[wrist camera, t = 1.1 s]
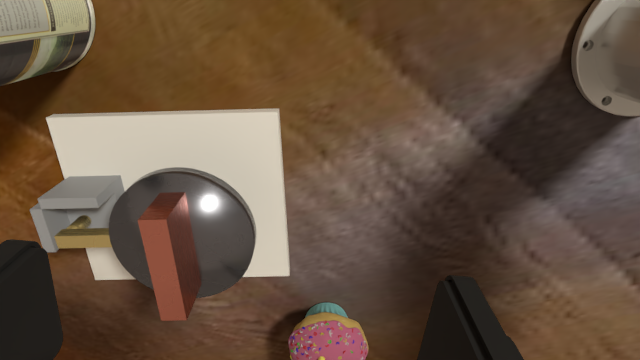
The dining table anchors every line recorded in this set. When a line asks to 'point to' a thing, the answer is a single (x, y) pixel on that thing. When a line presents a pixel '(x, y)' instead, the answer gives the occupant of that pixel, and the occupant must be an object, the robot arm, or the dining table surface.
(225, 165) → the pedestal
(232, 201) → the handwheel
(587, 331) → the dining table surface
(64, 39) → the coffee can
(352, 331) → the cupcake
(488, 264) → the dining table surface
